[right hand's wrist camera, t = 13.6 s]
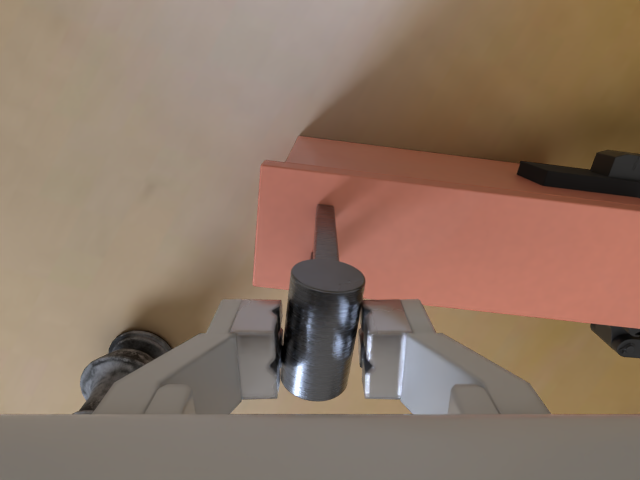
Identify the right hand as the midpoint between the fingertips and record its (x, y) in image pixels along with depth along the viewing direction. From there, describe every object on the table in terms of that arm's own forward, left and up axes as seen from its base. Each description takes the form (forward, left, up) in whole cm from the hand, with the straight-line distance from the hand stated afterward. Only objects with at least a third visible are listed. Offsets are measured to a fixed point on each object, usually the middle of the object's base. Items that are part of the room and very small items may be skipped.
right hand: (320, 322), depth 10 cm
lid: (+6, -2, -8) cm, 10 cm away
